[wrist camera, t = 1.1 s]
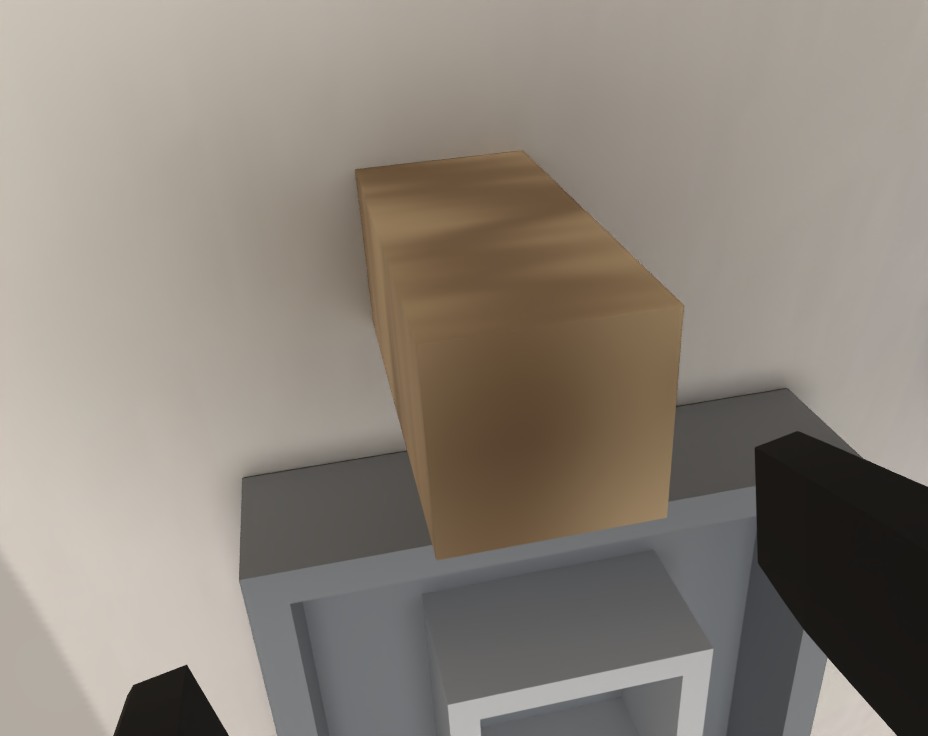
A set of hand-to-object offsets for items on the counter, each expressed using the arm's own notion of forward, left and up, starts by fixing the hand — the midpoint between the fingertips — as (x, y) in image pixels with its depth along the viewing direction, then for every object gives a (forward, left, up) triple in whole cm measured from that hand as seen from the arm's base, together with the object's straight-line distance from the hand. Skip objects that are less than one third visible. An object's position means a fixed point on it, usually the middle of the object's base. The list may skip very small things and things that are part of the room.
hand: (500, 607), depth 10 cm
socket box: (-4, +14, -12) cm, 19 cm away
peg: (-2, 0, -12) cm, 12 cm away
